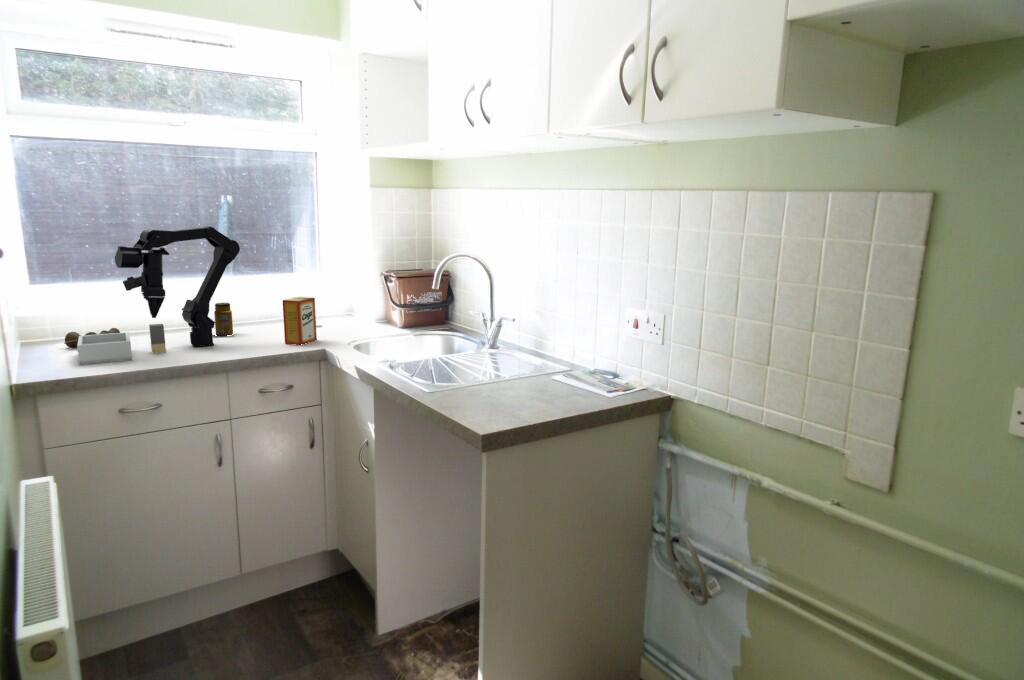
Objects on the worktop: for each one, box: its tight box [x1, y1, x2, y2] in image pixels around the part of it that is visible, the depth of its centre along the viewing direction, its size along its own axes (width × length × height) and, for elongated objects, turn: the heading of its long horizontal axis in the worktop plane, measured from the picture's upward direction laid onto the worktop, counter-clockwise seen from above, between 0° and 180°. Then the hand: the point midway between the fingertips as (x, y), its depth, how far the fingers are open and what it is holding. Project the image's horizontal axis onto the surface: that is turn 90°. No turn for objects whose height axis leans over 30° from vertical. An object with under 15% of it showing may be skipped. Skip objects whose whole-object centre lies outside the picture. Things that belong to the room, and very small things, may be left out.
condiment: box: [212, 302, 234, 338], centre depth 251 cm, size 7×8×12 cm
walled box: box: [76, 331, 133, 366], centre depth 214 cm, size 14×18×6 cm
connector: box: [148, 323, 167, 354], centre depth 222 cm, size 4×4×9 cm
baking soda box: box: [282, 296, 318, 346], centre depth 239 cm, size 10×6×16 cm
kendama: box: [63, 327, 121, 348], centre depth 231 cm, size 6×10×20 cm
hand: (153, 316), depth 220 cm, fingers open, 9 cm apart
